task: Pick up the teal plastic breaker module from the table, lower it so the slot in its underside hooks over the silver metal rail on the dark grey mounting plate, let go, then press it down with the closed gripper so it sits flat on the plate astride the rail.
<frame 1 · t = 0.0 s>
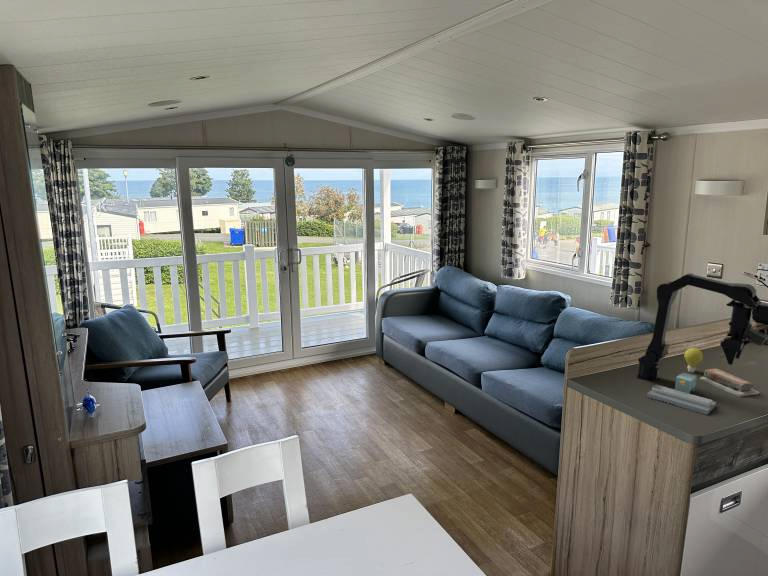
hand: (733, 361, 194), 15 cm above the worktop, tool pointing down, fingers open, 9 cm apart
mounting plate: (680, 401, 195), on the worktop
din rail: (681, 395, 194), on the mounting plate, point 2 cm above the worktop
module: (684, 391, 204), on the worktop
light bulb: (691, 371, 224), on the worktop
packaged product: (727, 387, 209), on the worktop
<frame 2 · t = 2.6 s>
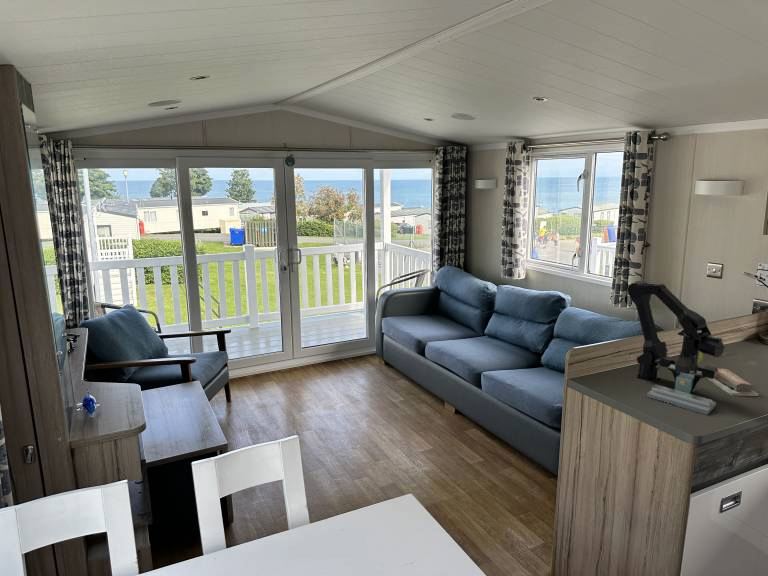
hand: (684, 388, 203), 1 cm above the worktop, tool pointing down, fingers closed on module, 5 cm apart
module: (684, 391, 204), on the worktop, touching gripper
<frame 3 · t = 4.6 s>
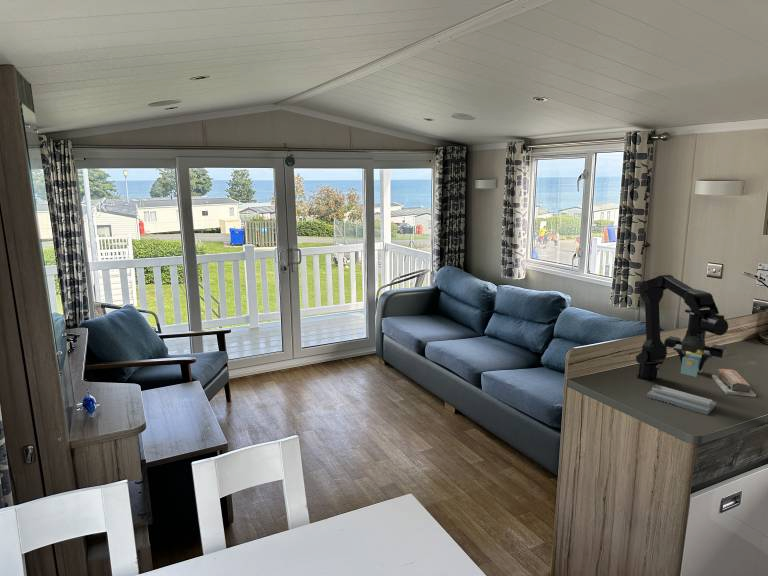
hand: (691, 369, 193), 12 cm above the worktop, tool pointing down, fingers closed on module, 5 cm apart
module: (691, 372, 194), point 11 cm above the worktop, touching gripper
when the fingers open (4 cm above the worktop, at t = 6.6 s): module drops 1 cm, resting on mounting plate.
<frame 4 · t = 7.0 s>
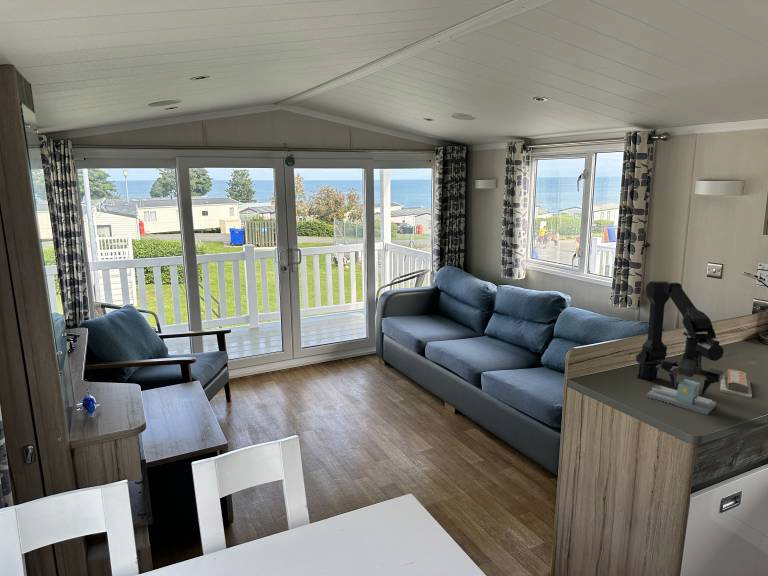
hand: (688, 392, 192), 4 cm above the worktop, tool pointing down, fingers open, 9 cm apart
module: (686, 399, 193), point 1 cm above the worktop, touching mounting plate
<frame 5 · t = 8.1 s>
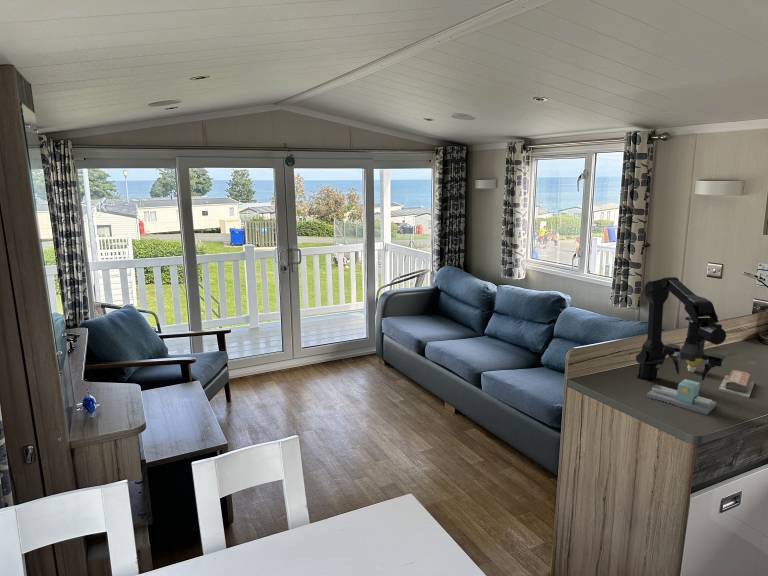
hand: (690, 377, 191), 10 cm above the worktop, tool pointing down, fingers open, 8 cm apart
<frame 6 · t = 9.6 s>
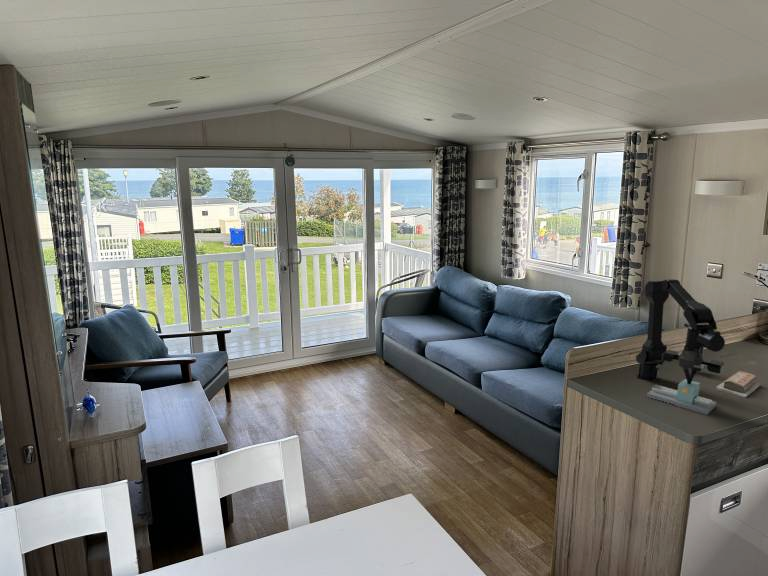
hand: (689, 383, 192), 7 cm above the worktop, tool pointing down, fingers closed, pressing on module
module: (686, 399, 193), point 1 cm above the worktop, touching gripper, mounting plate
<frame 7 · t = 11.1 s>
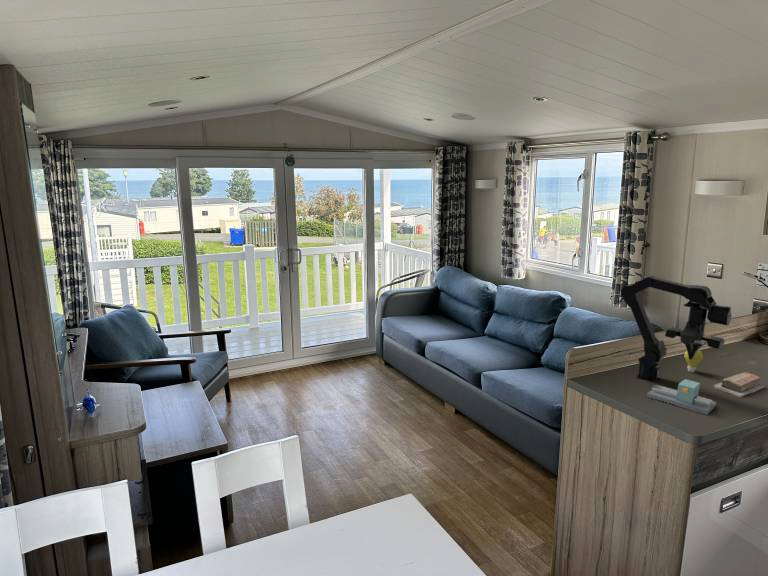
hand: (690, 359, 204), 12 cm above the worktop, tool pointing down, fingers closed
module: (686, 399, 193), point 1 cm above the worktop, touching mounting plate
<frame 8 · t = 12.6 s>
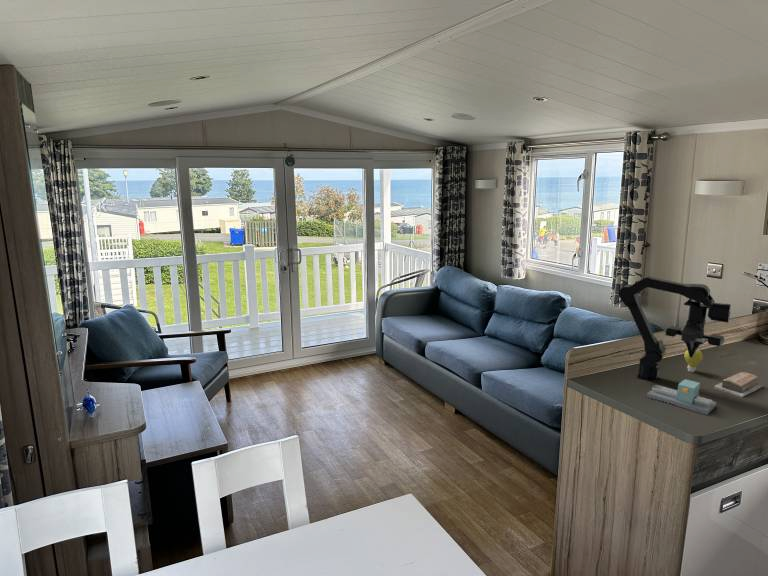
hand: (691, 357, 206), 12 cm above the worktop, tool pointing down, fingers closed
at the end: module inside the target area on the din rail (2.0 cm from its centre), point 1.5 cm above the din rail's base; module tilted 0°; the gripper is holding nothing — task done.
